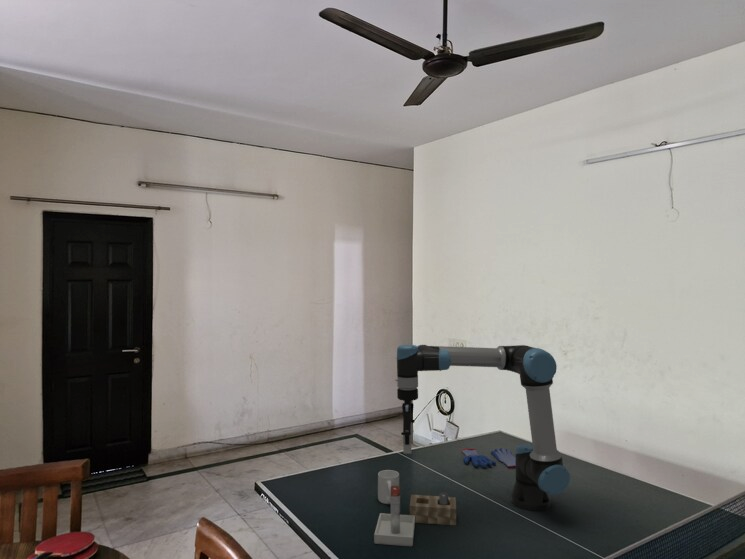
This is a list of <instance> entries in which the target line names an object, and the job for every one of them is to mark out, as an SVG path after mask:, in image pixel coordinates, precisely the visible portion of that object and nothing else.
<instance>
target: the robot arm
mask: <svg viewBox="0 0 745 559" xmlns="http://www.w3.org/2000/svg"><path fill="white" fill-rule="evenodd" d="M451 366H452V367H475V368H476V367H479V368H480V367H481V368H497V369H498V370H500V371H507V372H512V373H516V374H518V375H519V380H520V386H522V387H523V389H524V390H525V394H526V395H525V396H526V402H527V403H526V404H527V410H528V419H529V426H530V433H531V434H530V435H531V436H530V437H531V442H532V443H521V444H518V445H517V446H516V447H515V455H514V456H515V457H516V468H515V482H514V485H513V488H512V491H511V495H510V498H511V499H510V501H511V503H512V504H513V505H515V507H516V506H517V507H518V508H521V509H523V510H528V511H535V512H536V511H546V510H547V509H549V508H550V507H551V498H550V495H552V496H554V495H559V494H562V493H563V492H564V491H565V490H566V488H568V487H569V485H570V481H571V475H570V472H569V470H568V468H567V467H566V466H564V461H563V454H562V453H561V452H560V451H559V450H558V447H557V440H556V432H555V422H554V417H553V415H554V414H553V408H552V407H553V406H552V399H551V398H552V397H551V392H550V391H551V389H550V387H552V385H553V384H554V380H553V378H554V377H555V375H556V373H557V369H558V368H557V366H558V365H557V362H556V359H555V358H554V356H553V355H552V354H551V353H550V352H548V351H547V350H545V349H542V348H540V347H534V346H530V345H525V344H521V345H499V346H497V347H471V346H445V345H444V346H443V345H441V346H440V345H427V344H419V345H415V344H401V345H399V346H397V350H396V374H397V377H396V379H395V381H396V382H397V383H396V384H397V390H396V391H397V392H396V393H397V396H396V397H397V399H398V400H400V401H403V403H402V404H401V408H402V409H401V410H402V417H403V418H402V419H403V421H402V423H403V425H402V432H400V433H401V436H402V437H403V438H402V439H403V442H402V443H403V449H402V450H403V452H402V453H403V454H406V455H407V454H412V442H414V425H413V424H414V423H415V419H414V417H413V413H414V403H413V401H416V400H418V399H419V389H418V387H419V375H418V373H419V372H433V371H435V372H436V371H437V372H438V371H439V372H441V371H447V370H449V369H450V367H451Z"/></svg>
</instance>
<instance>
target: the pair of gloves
mask: <svg viewBox="0 0 745 559" xmlns="http://www.w3.org/2000/svg"><path fill="white" fill-rule="evenodd" d="M461 453H462V454H463V455H464V456H463V458H462V459H463V464H465V465H469V463H470V461H471V464H472V466H473V467H474V468H478V467H479V468H481V469H482V468H483V469H484V468H487V467H488V468H491V467H493V466H495V465H497V462H496V460H497V461H499V462H500V463H502V464H504V465H505V466H507V469H510V470H511V469H512V470H513V469H516V455H514V454H513V453H512V451H511V450H510V449H508V448H507V449H505V448H504V447H500V448H496V449H494V450H491V451H490V454H491V455H492V456H493V457H494V458H495V459H496V460H494V459H493V460H492V459H491V458H489V457H488V456H486V455H483V454H478V452H477V449H476V448H467V447H465V448H463V449H461Z"/></svg>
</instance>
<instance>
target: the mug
mask: <svg viewBox="0 0 745 559" xmlns="http://www.w3.org/2000/svg"><path fill="white" fill-rule="evenodd" d="M391 486H399V487H400V473H399V472H398V471H396V470H392V469H385V470H380V471H379V472H378V473H377V499H378V501H379V503H382V504H384V505H391Z"/></svg>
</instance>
